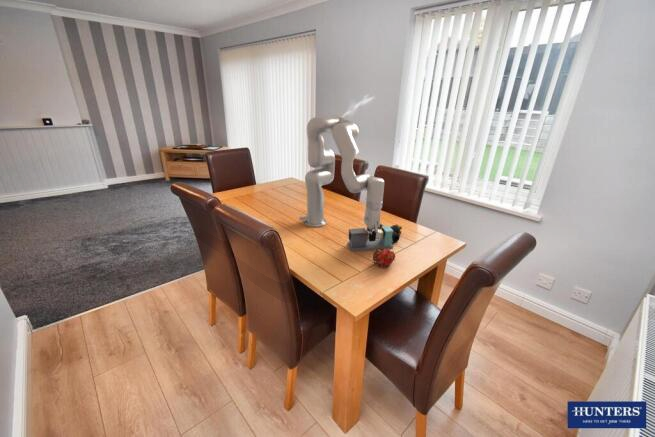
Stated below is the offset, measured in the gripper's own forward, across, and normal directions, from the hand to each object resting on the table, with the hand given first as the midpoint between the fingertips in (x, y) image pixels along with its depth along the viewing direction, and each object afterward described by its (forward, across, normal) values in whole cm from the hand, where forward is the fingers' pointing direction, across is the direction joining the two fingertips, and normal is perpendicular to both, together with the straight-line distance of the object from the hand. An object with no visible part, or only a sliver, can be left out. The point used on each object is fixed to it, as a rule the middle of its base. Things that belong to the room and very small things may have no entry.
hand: (370, 238), depth 135 cm
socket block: (+3, 0, +8) cm, 9 cm away
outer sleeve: (+3, 0, -7) cm, 7 cm away
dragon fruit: (+5, +16, +1) cm, 17 cm away
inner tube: (-1, 0, -2) cm, 2 cm away
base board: (+4, 0, 0) cm, 4 cm away
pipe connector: (+5, -10, +15) cm, 19 cm away
